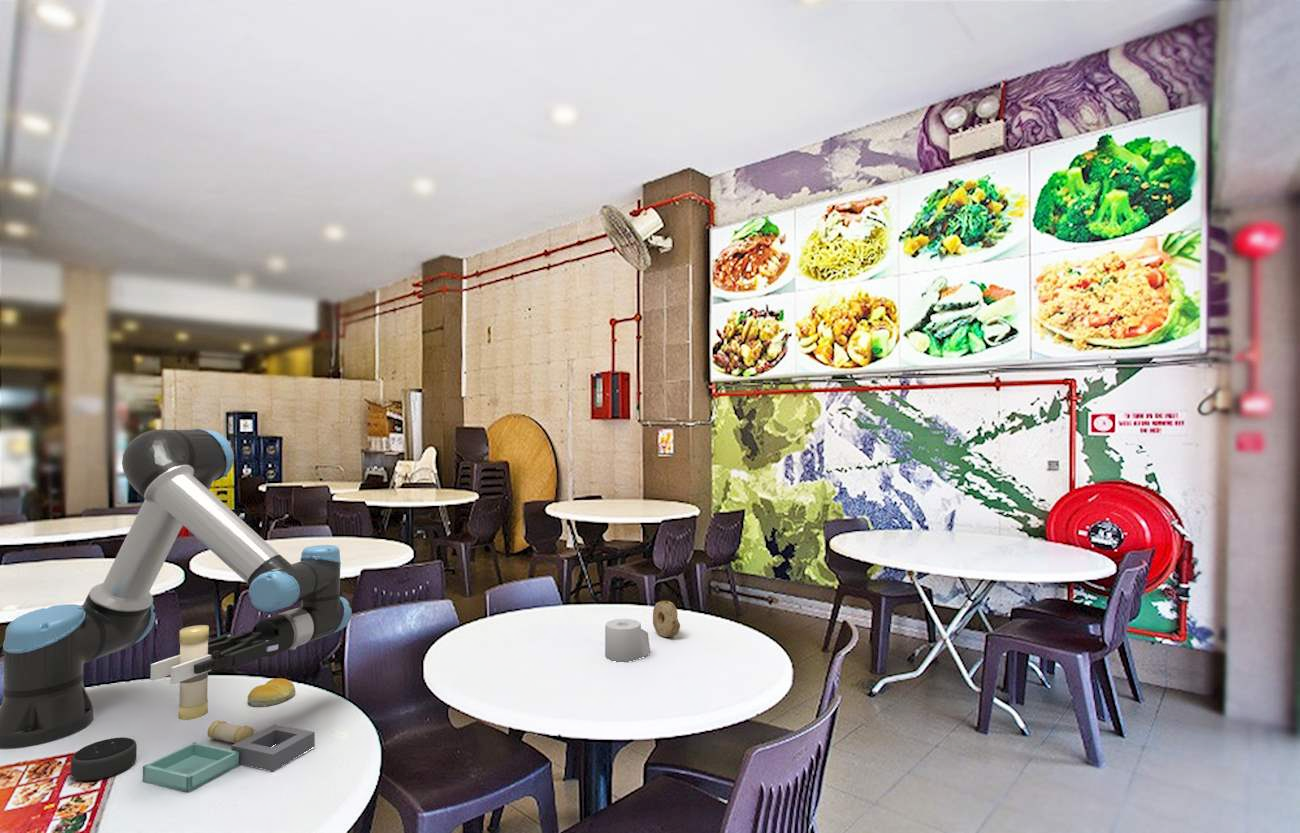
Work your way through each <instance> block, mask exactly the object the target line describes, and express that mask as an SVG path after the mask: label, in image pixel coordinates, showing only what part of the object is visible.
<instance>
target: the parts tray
mask: <svg viewBox="0 0 1300 833" xmlns="http://www.w3.org/2000/svg"><path fill="white" fill-rule="evenodd" d="M239 766H240V764H239V752H237V751H233V750H231V749H228V748H222V747H219V746H213V745H210V744H205V743H200V742H195V741H194V742H192V743H190V744H188V745H186V746H184V747H181V748H179V749H177V750H175V751H173V752H171V753H168V754H166V755H164V756H161V757H160V758H157V759H156V760H152V761H151V762H149V763H146V764H145V765H143V766H142V782H145V783H148V784H152V785H158V786H161V787H164V788H168V789H173V790H176V791H180V792H184V793H188V794H189V793H191V792H193V791H194V790H196V789H198V788H200V787H202V786H205V785H206V784H208V783H209V782H212V781H213V780H215V779H217V778H220V777H221V776H224V774H227V773H228V772H230V771H232V770H234V769H236V768H237V767H239Z"/></svg>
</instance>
